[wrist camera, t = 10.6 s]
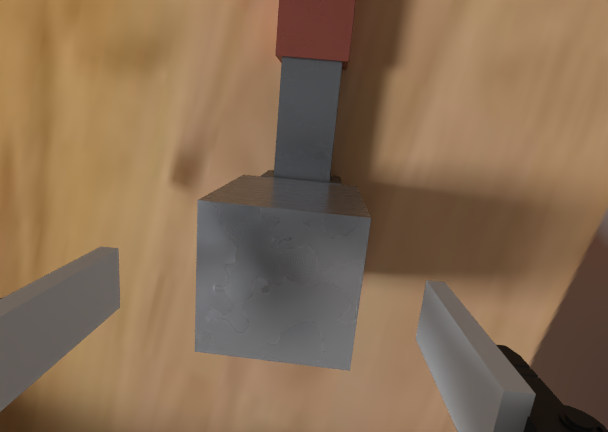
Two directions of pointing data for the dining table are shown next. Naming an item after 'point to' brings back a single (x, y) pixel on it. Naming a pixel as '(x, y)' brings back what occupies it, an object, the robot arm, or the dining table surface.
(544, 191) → the dining table surface
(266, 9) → the dining table surface
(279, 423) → the dining table surface
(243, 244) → the grey stone cube
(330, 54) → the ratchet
